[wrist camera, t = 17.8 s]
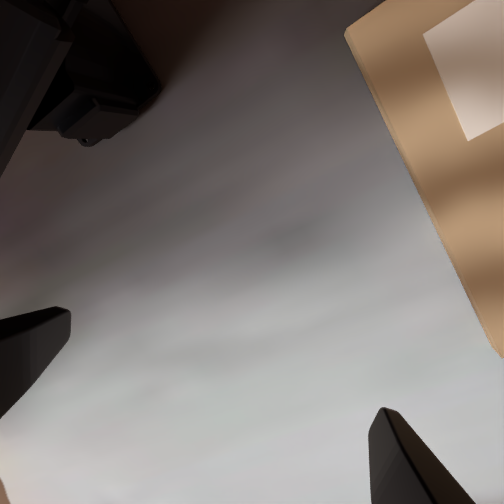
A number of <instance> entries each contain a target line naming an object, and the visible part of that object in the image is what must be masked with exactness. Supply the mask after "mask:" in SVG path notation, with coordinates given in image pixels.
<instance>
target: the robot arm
mask: <svg viewBox="0 0 504 504" xmlns="http://www.w3.org/2000/svg"><path fill="white" fill-rule="evenodd" d="M151 82H154V85H155V86H154V89H153V90H151V89H150V87H149V85H150V83H151ZM160 91H161V83H160V81H159V79H158V77H157V76H156V74H155V73H154V71H153V69H152V68H151V66H150V64H149V63H148V61H147V59H146V58H145V56H144V55H143V53H142V51H141V50H140V48H139V46H138V45H137V43H136V42H135V40H134V38H133V37H132V35H131V33H130V32H129V30H128V28H127V27H126V25H125V24H124V22H123V20H122V19H121V17H120V15H119V14H118V12H117V10H116V9H115V7H114V6H113V4H112V2H111V1H110V0H0V177H1V175H2V174H3V172H4V170H5V168H6V166H7V164H8V162H9V161H10V159H11V157H12V155H13V153H14V151H15V149H16V147H17V146H18V144H19V142H20V140H21V138H22V136H23V134H24V133H25V131H26V130H38V131H58V132H59V134H60V135H61V137H64V138H68V139H77V140H78V141H79V143H80V144H81V145H82V146H84V147H91V146H94V145H95V144H96V143H97V142H99V141H100V140H101V139H110V138H111V137H113V136H114V135H115V134H117V133H118V132H119V131H120V130H122V129H123V128H124V127H126V126H127V125H128V124H129V123H131V122H132V121H133V120H134V119H136V118H137V117H138V115H139V109H140V108H142V107H143V106H144V105H145V104H147V103H148V102H149V101H151V100H152V99H153V98H154V97H156V96H157V95H158V94H159V93H160ZM86 139H89V141H88V142H87V141H86ZM70 333H71V312H70V311H69V310H68V309H64V308H61V307H57V306H55V307H50V308H46V309H42V310H38V311H34V312H30V313H26V314H21V315H17V316H13V317H9V318H5V319H1V320H0V419H1V418H2V416H3V415H4V414H5V413H6V412H7V411H8V410H9V409H10V408H11V407H12V406H13V405H14V404H15V403H16V402H17V401H18V400H19V399H20V398H21V397H22V396H23V395H24V394H25V393H26V392H27V390H28V389H29V388H30V387H31V386H32V385H33V384H34V383H35V381H36V380H37V379H38V378H39V376H40V375H41V374H42V373H43V371H44V370H45V369H46V368H47V366H48V365H49V364H50V363H51V361H52V360H53V359H54V358H55V357H56V355H57V354H58V353H59V352H60V350H61V349H62V348H63V347H64V345H65V344H66V343H67V341H68V340H69V337H70ZM368 443H369V467H370V490H371V502H372V504H476V503H475V502H474V501H473V500H472V499H471V497H470V496H469V495H468V494H467V493H466V491H465V490H464V489H463V488H462V487H461V486H460V484H459V483H458V482H457V481H456V480H455V478H454V477H453V476H452V475H451V474H450V473H449V471H448V470H447V469H446V468H445V467H444V465H443V464H442V463H441V462H440V461H439V460H438V458H437V457H436V456H435V455H434V454H433V452H432V451H431V450H430V449H429V448H428V447H427V445H426V444H425V443H424V442H423V441H422V439H421V438H420V437H419V436H418V435H417V434H416V432H415V431H414V430H413V429H412V428H411V426H410V425H409V424H408V423H407V422H406V421H405V419H404V418H403V417H402V416H401V415H400V414H399V412H397V411H395V410H392V409H389V408H385V407H382V408H380V409H379V411H378V413H377V415H376V417H375V419H374V421H373V423H372V425H371V427H370V429H369V434H368Z"/></svg>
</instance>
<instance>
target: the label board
mask: <svg viewBox="0 0 504 504" xmlns="http://www.w3.org/2000/svg"><path fill="white" fill-rule="evenodd" d="M344 37H345V39H346V41H347V43H348V45H349V47H350V49H351V51H352V54H353V56H354V58H355V60H356V62H357V64H358V66H359V68H360V70H361V72H362V75H363V77H364V79H365V81H366V83H367V85H368V87H369V89H370V91H371V94H372V96H373V98H374V100H375V102H376V104H377V106H378V108H379V110H380V113H381V115H382V117H383V119H384V121H385V123H386V125H387V127H388V129H389V131H390V134H391V136H392V138H393V140H394V142H395V144H396V146H397V148H398V150H399V153H400V155H401V157H402V159H403V161H404V163H405V165H406V167H407V169H408V171H409V174H410V176H411V178H412V180H413V182H414V184H415V186H416V188H417V190H418V193H419V195H420V197H421V199H422V201H423V203H424V205H425V207H426V209H427V211H428V214H429V216H430V218H431V220H432V222H433V224H434V226H435V228H436V230H437V233H438V235H439V237H440V239H441V241H442V243H443V245H444V247H445V249H446V252H447V254H448V256H449V258H450V260H451V262H452V264H453V266H454V268H455V270H456V273H457V275H458V277H459V279H460V281H461V283H462V285H463V287H464V289H465V292H466V294H467V296H468V298H469V300H470V302H471V304H472V306H473V308H474V310H475V313H476V315H477V317H478V319H479V321H480V323H481V325H482V327H483V329H484V332H485V334H486V336H487V338H488V340H489V342H490V344H491V346H492V348H493V349H494V350H495V351H496V352H497V353H498V354H499V355H500V357H501V358H504V0H386V1H384V2H383V3H382V4H380V5H379V6H377V7H376V8H375V9H373V10H372V11H370V12H369V13H367V14H366V15H365V16H363V17H362V18H360V19H359V20H358V21H356V22H355V23H353V24H352V25H351V26H349V27H348V28H347V29H346V31H345V34H344Z"/></svg>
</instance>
